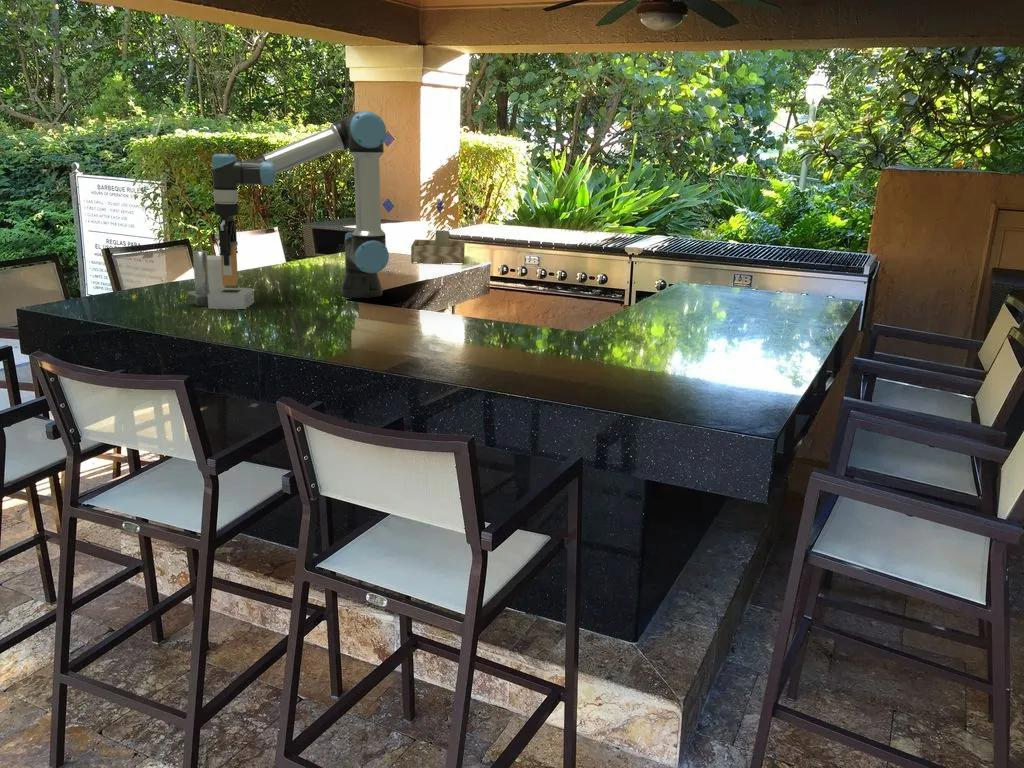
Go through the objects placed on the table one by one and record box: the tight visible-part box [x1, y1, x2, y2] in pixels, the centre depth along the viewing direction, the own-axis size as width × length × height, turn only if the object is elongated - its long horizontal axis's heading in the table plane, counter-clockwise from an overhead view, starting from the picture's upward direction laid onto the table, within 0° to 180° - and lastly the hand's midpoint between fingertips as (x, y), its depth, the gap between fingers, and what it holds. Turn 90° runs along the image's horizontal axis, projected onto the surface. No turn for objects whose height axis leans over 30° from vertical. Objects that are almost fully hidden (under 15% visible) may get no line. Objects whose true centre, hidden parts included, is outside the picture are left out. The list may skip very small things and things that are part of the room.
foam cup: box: [207, 255, 226, 291], centre depth 308 cm, size 10×9×13 cm
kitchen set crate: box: [410, 239, 466, 265], centre depth 412 cm, size 24×26×8 cm
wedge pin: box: [218, 241, 239, 287], centre depth 285 cm, size 5×5×14 cm
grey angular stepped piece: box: [187, 250, 255, 310], centre depth 292 cm, size 20×24×18 cm
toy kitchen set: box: [425, 229, 452, 247], centre depth 412 cm, size 18×17×15 cm
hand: (229, 273), depth 286 cm, fingers closed on wedge pin, 4 cm apart
